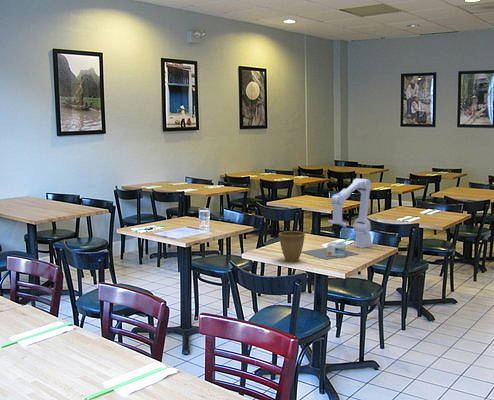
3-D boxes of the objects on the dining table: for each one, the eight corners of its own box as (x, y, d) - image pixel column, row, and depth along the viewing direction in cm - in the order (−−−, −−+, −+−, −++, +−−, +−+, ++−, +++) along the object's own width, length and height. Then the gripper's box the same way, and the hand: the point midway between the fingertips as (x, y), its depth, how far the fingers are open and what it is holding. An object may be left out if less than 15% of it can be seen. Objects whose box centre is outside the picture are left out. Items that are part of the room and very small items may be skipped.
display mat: (332, 247, 369) (332, 246, 369) (358, 254, 349) (358, 253, 349) (300, 252, 354) (300, 251, 354) (326, 259, 335) (326, 259, 335)
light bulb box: (346, 242, 349) (345, 246, 339) (345, 253, 350) (344, 257, 340) (328, 241, 352) (326, 245, 341) (327, 252, 352) (326, 256, 342)
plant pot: (302, 257, 340) (303, 230, 338) (305, 263, 326) (306, 235, 324) (277, 257, 340) (277, 230, 338) (279, 263, 325) (279, 235, 323)
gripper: (324, 213, 356) (324, 235, 358) (340, 216, 344) (340, 238, 346) (333, 212, 360) (332, 234, 361) (349, 215, 348) (348, 237, 349)
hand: (337, 236), depth 354 cm, fingers closed
